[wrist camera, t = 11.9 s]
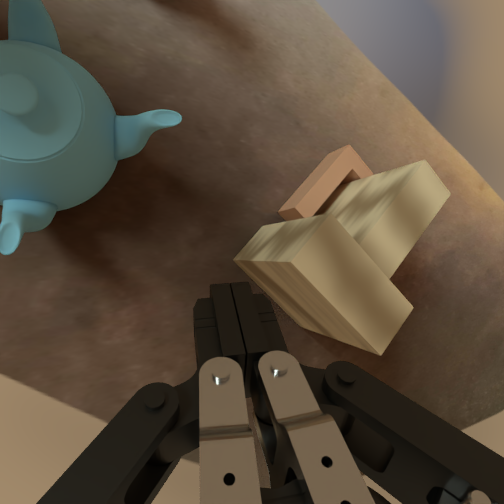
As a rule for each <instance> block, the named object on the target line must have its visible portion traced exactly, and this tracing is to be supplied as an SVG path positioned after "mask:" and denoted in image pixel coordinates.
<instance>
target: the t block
mask: <svg viewBox="0 0 504 504" xmlns="http://www.w3.org/2000/svg"><path fill="white" fill-rule="evenodd" d="M450 194H451V193H450V192H449V191H448V189H447V188H446V187H445V185H444V184H443V183H442V181H441V180H440V179H439V177H438V176H437V175H436V173H435V172H434V171H433V169H432V168H431V167H430V165H429V164H428V163H427V161H426V160H422V161H419V162H416V163H412V164H409V165H406V166H402V167H399V168H396V169H392V170H389V171H386V172H382V173H379V174H376V175H372V176H369V177H366V178H362V179H359V180H356V181H352V182H349V183H346V184H342V185H339V186H337V187H336V189H335V190H334V191H333V192H332V193H331V195H330V196H329V197H328V198H327V199H326V201H325V202H324V203H323V204H322V205H321V207H320V208H319V209H318V210H317V211H316V212H315V214H314V215H313V216H312V217H307V218H302V219H297V220H291V221H286V222H281V223H275V224H270V225H265V226H262V227H261V228H260V229H259V231H258V232H257V233H256V234H255V235H254V236H253V237H252V239H251V240H250V241H249V242H248V243H247V244H246V245H245V246H244V248H243V249H242V250H241V251H240V252H239V253H238V254H237V256H236V257H235V258H234V259H233V261H234V262H235V263H236V264H237V265H238V266H239V267H240V268H241V269H242V270H243V271H244V272H245V273H246V274H247V275H248V276H249V277H250V278H251V279H252V280H253V281H254V282H255V283H256V284H257V285H258V286H260V287H261V288H262V289H263V290H264V291H265V292H266V293H267V294H268V295H269V296H270V297H271V298H272V299H273V300H274V301H275V302H276V303H277V304H278V305H279V306H280V307H281V308H282V309H283V310H284V311H285V312H286V313H287V314H288V315H289V316H290V317H291V318H292V319H293V320H294V321H295V322H296V323H297V324H298V325H299V326H300V327H302V328H305V329H308V330H311V331H313V332H316V333H319V334H322V335H325V336H327V337H330V338H333V339H336V340H338V341H341V342H344V343H347V344H350V345H352V346H355V347H358V348H361V349H363V350H366V351H369V352H372V353H375V354H377V355H380V356H381V355H382V354H383V352H384V351H385V349H386V348H387V346H388V345H389V343H390V342H391V340H392V339H393V337H394V336H395V334H396V333H397V332H398V330H399V329H400V327H401V326H402V324H403V323H404V321H405V320H406V318H407V317H408V315H409V314H410V312H411V311H412V309H413V308H414V307H413V306H412V305H411V304H410V303H409V301H408V300H407V299H406V298H405V297H404V296H403V295H402V293H401V292H400V291H399V290H398V289H397V288H396V287H395V285H394V284H393V283H392V282H391V281H390V280H389V279H390V278H391V276H392V275H393V274H394V272H395V271H396V269H397V268H398V267H399V265H400V264H401V262H402V261H403V260H404V258H405V257H406V255H407V254H408V253H409V251H410V250H411V249H412V247H413V246H414V244H415V243H416V242H417V240H418V239H419V237H420V236H421V235H422V233H423V232H424V231H425V229H426V228H427V226H428V225H429V224H430V222H431V221H432V219H433V218H434V217H435V215H436V214H437V212H438V211H439V210H440V208H441V207H442V206H443V204H444V203H445V201H446V200H447V199H448V197H449V196H450Z"/></svg>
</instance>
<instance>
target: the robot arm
mask: <svg viewBox="0 0 504 504" xmlns="http://www.w3.org/2000/svg"><path fill="white" fill-rule="evenodd" d="M193 313H194V340H195V351H196V361H197V371H196V372H195V374H194V375H193V376H192V377H191V378H190V379H189V380H187V381H186V382H184V383H182V384H180V385H177V386H175V387H172V386H170V385H169V384H166V383H159V382H158V383H151V384H148V385H146V386H144V387H142V388H141V389H140V390H138V391H137V392H136V394H135V395H134V396H133V397H132V398H131V399H130V400H129V401H128V402H127V404H126V405H125V406H124V407H123V408H122V409H121V410H120V411H119V412H118V414H117V415H116V416H115V417H114V418H113V419H112V420H111V421H110V422H109V423H108V425H107V426H106V427H105V428H104V429H103V430H102V431H101V433H100V434H99V435H98V436H97V437H96V438H95V439H94V440H93V441H92V442H91V444H90V445H89V446H88V447H87V448H86V449H85V450H84V451H83V452H82V453H81V455H80V456H79V457H78V458H77V459H76V460H75V461H74V462H73V464H72V465H71V466H70V467H69V468H68V469H67V470H66V471H65V472H64V473H63V475H62V476H61V477H60V478H59V479H58V480H57V481H56V482H55V484H54V485H53V486H52V487H51V488H50V489H49V490H48V491H47V492H46V494H45V495H44V496H43V497H42V498H41V499H40V500H39V501H38V502H37V503H36V504H151V503H152V501H153V500H154V498H155V497H156V495H157V494H158V492H159V491H160V489H161V488H162V486H163V485H164V483H165V482H166V480H167V479H168V477H169V476H170V474H171V473H172V471H173V470H174V468H175V467H176V465H177V464H178V462H179V460H180V458H181V456H183V455H185V454H187V453H189V452H191V451H193V450H194V449H196V448H198V447H200V504H391V503H390V502H389V501H387V500H386V499H385V498H384V497H383V496H381V495H380V494H379V493H377V492H376V491H374V490H373V489H371V488H370V487H368V486H366V483H365V481H364V479H363V477H362V475H361V473H360V471H361V472H362V473H364V474H365V475H366V476H368V477H369V478H370V479H372V480H373V481H374V482H375V483H377V484H378V485H379V486H381V487H382V488H383V489H384V490H386V491H387V492H388V493H389V494H391V495H392V496H393V497H395V498H396V499H397V500H398V501H400V502H401V503H402V504H504V458H503V457H502V456H500V455H499V454H497V453H495V452H494V451H492V450H490V449H489V448H487V447H486V446H484V445H483V444H481V443H479V442H478V441H476V440H474V439H473V438H471V437H470V436H468V435H466V434H465V433H463V432H462V431H460V430H458V429H457V428H455V427H454V426H452V425H450V424H449V423H447V422H446V421H444V420H442V419H441V418H439V417H438V416H436V415H434V414H433V413H431V412H430V411H428V410H426V409H425V408H423V407H422V406H420V405H418V404H417V403H415V402H414V401H412V400H410V399H409V398H407V397H405V396H404V395H402V394H401V393H399V392H397V391H396V390H394V389H393V388H391V387H389V386H388V385H386V384H385V383H383V382H381V381H380V380H378V379H377V378H375V377H373V376H372V375H370V374H369V373H367V372H365V371H364V370H362V369H361V368H359V367H357V366H356V365H354V364H352V363H349V362H345V361H337V362H333V363H331V364H330V365H328V367H327V368H326V370H324V369H318V368H312V367H307V366H304V365H302V364H300V363H298V361H297V360H296V359H295V358H294V357H293V356H292V355H290V354H289V352H288V350H287V347H286V344H285V341H284V338H283V336H282V333H281V330H280V327H279V324H278V322H277V319H276V316H275V314H274V310H273V307H272V305H271V302H270V301H269V300H268V299H267V298H266V297H265V296H264V295H263V294H252V291H251V288H250V284H249V282H237V283H230V284H229V283H225V284H211V285H210V298H201V299H198V300H197V302H196V304H195V306H194V308H193ZM249 397H251V398H252V402H253V406H254V407H253V420H254V424H255V427H256V430H257V434H258V437H259V440H260V444H261V447H262V450H263V454H264V457H265V460H266V464H267V467H268V471H269V476H270V487H271V489H270V488H260V486H259V478H258V471H257V463H256V455H255V447H254V440H253V434H252V430H251V429H250V428H249V423H248V415H247V407H246V399H245V398H249ZM359 470H360V471H359Z"/></svg>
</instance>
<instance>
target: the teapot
mask: <svg viewBox="0 0 504 504" xmlns="http://www.w3.org/2000/svg"><path fill="white" fill-rule="evenodd" d="M181 121H182V116H181V115H180V114H179V113H177V112H175V111H172V110H164V109H162V110H153V111H148V112H144V113H141V114H138V115H133V116H118V115H116V112H115V110H114V108H113V106H112V103H111V101H110V99H109V97H108V96H107V94H106V93H105V91H104V89H103V88H102V87H101V86H100V84H99V83H98V82H97V81H96V79H95V78H94V77H93V76H92V75H91V74H90V73H89V72H88V71H87V70H86V69H84V68H83V67H82V66H81V65H80V64H78V63H77V62H75V61H74V60H72V59H71V58H69V57H68V56H66V55H64V54H62V52H61V48H60V44H59V40H58V37H57V33H56V30H55V27H54V25H53V22H52V20H51V18H50V16H49V14H48V12H47V10H46V9H45V7H44V5H43V3H42V1H41V0H9V10H8V40H0V205H2V206H3V211H2V222H1V224H0V252H1V253H2V254H4V255H9V254H11V253H13V252H14V251H15V250H16V249H17V247H18V246H19V244H20V241H21V239H22V236H23V234H24V232H35V231H39V230H42V229H44V228H46V227H47V226H48V225H49V224H50V223H51V221H52V219H53V218H54V216H55V214H56V211H61V210H65V209H69V208H72V207H74V206H77V205H79V204H81V203H83V202H85V201H87V200H89V199H90V198H91V197H93V196H94V195H95V194H97V193H98V192H99V191H100V190H101V189H102V188H103V187H104V186H105V184H106V183H107V182H108V181H109V179H110V177H111V176H112V174H113V172H114V170H115V168H116V165H117V162H118V160H121V159H125V158H128V157H131V156H134V155H135V154H137V153H139V152H140V151H141V150H142V149H143V148H144V146H145V145H146V143H147V141H148V139H149V137H150V136H151V134H152V133H153V132H155V131H157V130H159V129H163V128H168V127H172V126H175V125H177V124H179V123H180V122H181Z"/></svg>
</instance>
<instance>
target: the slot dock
mask: <svg viewBox="0 0 504 504" xmlns="http://www.w3.org/2000/svg"><path fill="white" fill-rule="evenodd" d="M372 175H374V174H373V173H372V172H371V170H370V169H369V168H368V167H367V165H366V164H365V163H364V162H363V161H362V159H361V158H360V157H359V156H358V154H357V153H356V152H355V151H354V149H353V148H352V147H351V146H350V144H349V145H347V146H344V147H342V148H340V149H338V150H336V151H333V152H331V153H329V154H328V155H327V156H326V157H325V158H324V159H323V160H322V162H321V163H320V164H319V165H318V166H317V167H316V168H315V170H314V171H313V172H312V173H311V174H310V175H309V176H308V178H307V179H306V180H305V181H304V182H303V183H302V184H301V186H300V187H299V188H298V189H297V190H296V191H295V192H294V194H293V195H292V196H291V197H290V198H289V199H288V200H287V202H286V203H285V204H284V205H283V206H282V207H281V208H280V210H279V211H278V213H279V214H280V215H281V216H282V218H283V219H284V220H285V221H291V220H297V219H302V218H307V217H312V216H313V215H314V214H315V212H316V211H317V210H318V209H319V208H320V207H321V205H322V204H323V203H324V202H325V201H326V199H327V198H328V197H329V196H330V195H331V193H332V192H333V191H334V190H335V189H336V187H337V186H338V185H342V184H346V183H349V182H352V181H356V180H359V179H362V178H366V177H369V176H372Z"/></svg>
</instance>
